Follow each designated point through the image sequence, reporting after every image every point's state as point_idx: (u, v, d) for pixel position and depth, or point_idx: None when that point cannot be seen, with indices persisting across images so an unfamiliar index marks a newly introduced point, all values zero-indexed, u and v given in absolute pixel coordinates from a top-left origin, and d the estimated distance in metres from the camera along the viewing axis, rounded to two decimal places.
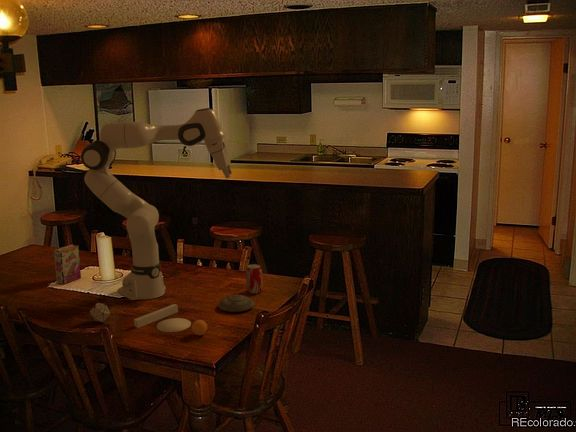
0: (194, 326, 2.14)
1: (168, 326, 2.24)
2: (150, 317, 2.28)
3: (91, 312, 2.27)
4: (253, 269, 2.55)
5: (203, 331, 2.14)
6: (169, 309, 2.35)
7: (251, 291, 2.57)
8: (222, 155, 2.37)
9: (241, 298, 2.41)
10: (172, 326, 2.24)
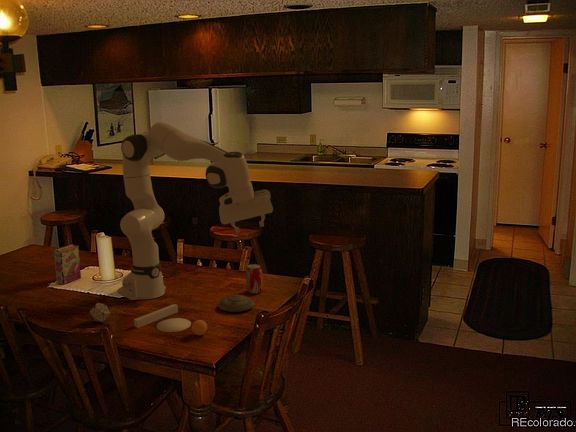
0: (194, 326, 2.14)
1: (168, 326, 2.24)
2: (150, 317, 2.28)
3: (91, 312, 2.27)
4: (253, 269, 2.55)
5: (203, 331, 2.14)
6: (169, 309, 2.35)
7: (251, 291, 2.57)
8: (220, 211, 2.18)
9: (241, 298, 2.41)
10: (172, 326, 2.24)
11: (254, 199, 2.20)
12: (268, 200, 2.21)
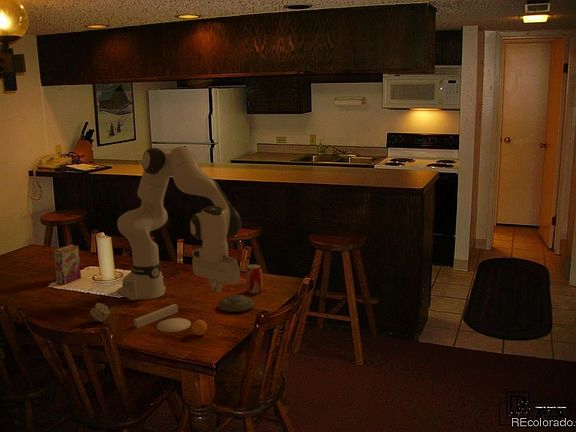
0: (194, 326, 2.14)
1: (168, 326, 2.24)
2: (150, 317, 2.28)
3: (91, 312, 2.27)
4: (253, 269, 2.55)
5: (203, 331, 2.14)
6: (169, 309, 2.35)
7: (251, 291, 2.57)
8: None
9: (241, 298, 2.41)
10: (172, 326, 2.24)
11: (220, 263, 2.00)
12: (230, 271, 1.98)
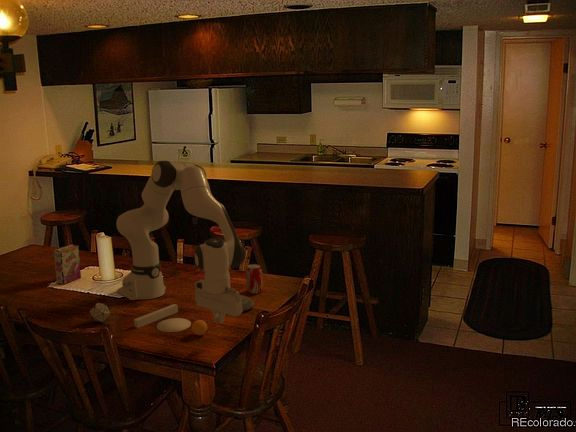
0: (194, 326, 2.14)
1: (168, 326, 2.24)
2: (150, 317, 2.28)
3: (91, 312, 2.27)
4: (253, 269, 2.55)
5: (203, 331, 2.14)
6: (169, 309, 2.35)
7: (251, 291, 2.57)
8: None
9: (241, 298, 2.41)
10: (172, 326, 2.24)
11: (222, 295, 2.03)
12: (233, 302, 2.00)
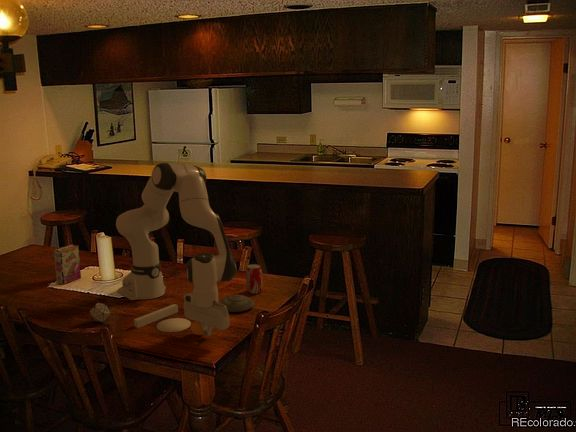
0: (193, 326, 2.14)
1: (168, 326, 2.24)
2: (150, 317, 2.28)
3: (91, 312, 2.27)
4: (253, 269, 2.55)
5: (202, 330, 2.14)
6: (169, 309, 2.35)
7: (251, 291, 2.57)
8: None
9: (241, 298, 2.41)
10: (172, 326, 2.24)
11: (210, 309, 2.08)
12: (220, 316, 2.05)
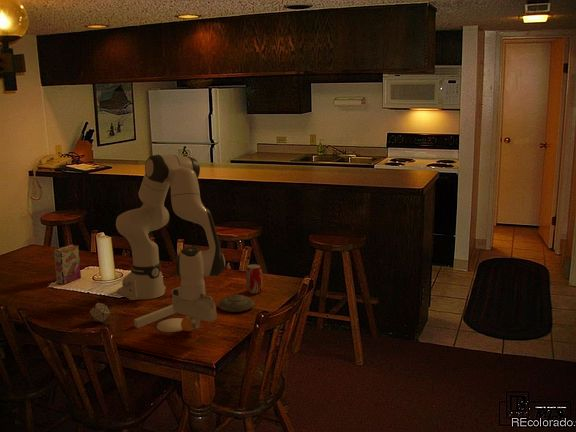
0: (181, 323, 2.19)
1: (168, 326, 2.24)
2: (150, 317, 2.28)
3: (91, 312, 2.27)
4: (253, 269, 2.55)
5: None
6: (169, 309, 2.35)
7: (251, 291, 2.57)
8: None
9: (241, 298, 2.41)
10: (172, 326, 2.24)
11: (197, 301, 2.11)
12: (207, 309, 2.09)
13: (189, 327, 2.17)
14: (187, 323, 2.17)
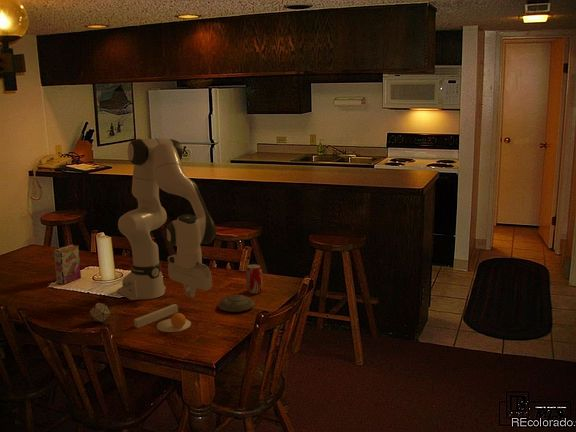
0: (173, 325, 2.22)
1: (168, 326, 2.24)
2: (150, 317, 2.28)
3: (91, 312, 2.27)
4: (253, 269, 2.55)
5: None
6: (169, 309, 2.35)
7: (251, 291, 2.57)
8: None
9: (241, 298, 2.41)
10: (172, 326, 2.24)
11: (193, 269, 2.09)
12: (203, 277, 2.06)
13: (173, 316, 2.21)
14: (171, 318, 2.22)
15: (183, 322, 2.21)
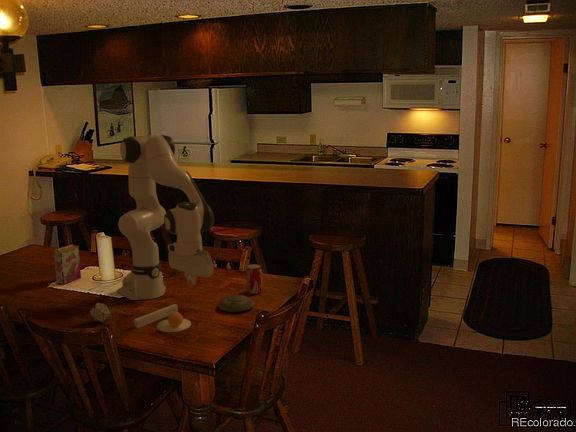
0: (171, 324, 2.22)
1: (168, 326, 2.24)
2: (150, 317, 2.28)
3: (91, 312, 2.27)
4: (253, 269, 2.55)
5: None
6: (169, 309, 2.35)
7: (251, 291, 2.57)
8: None
9: (241, 298, 2.41)
10: None
11: (193, 257, 2.08)
12: (204, 264, 2.05)
13: None
14: None
15: (179, 317, 2.22)
